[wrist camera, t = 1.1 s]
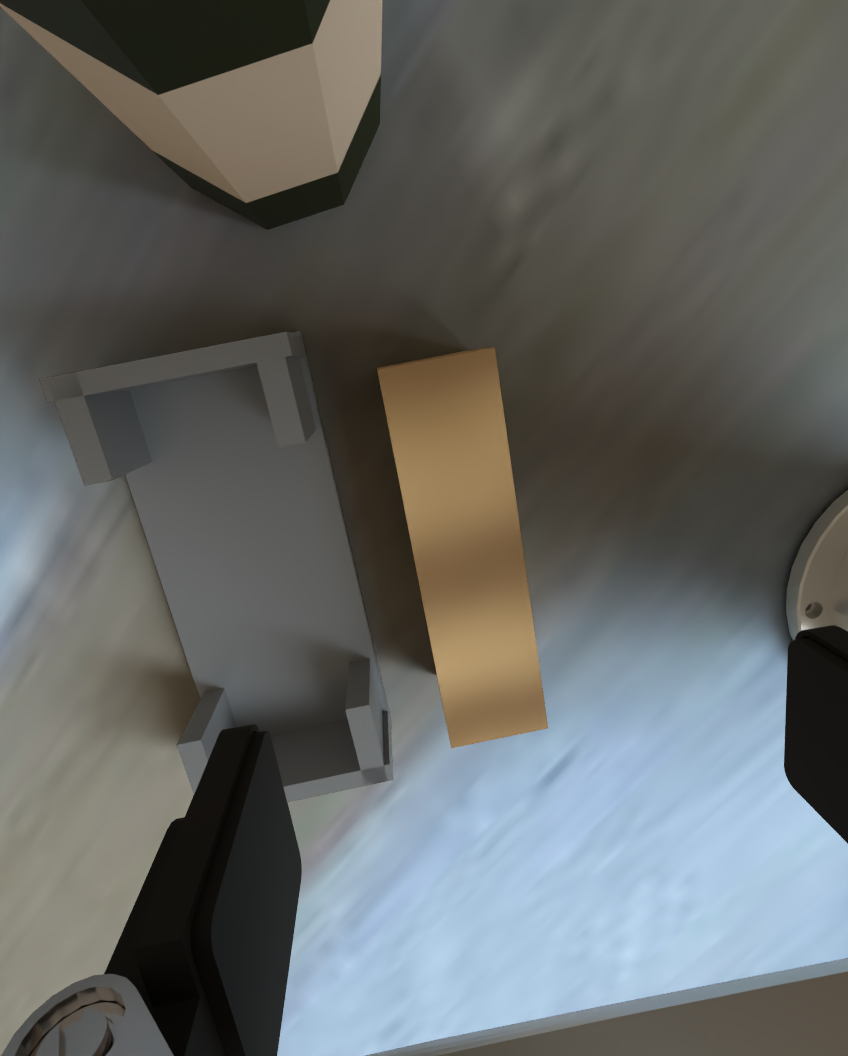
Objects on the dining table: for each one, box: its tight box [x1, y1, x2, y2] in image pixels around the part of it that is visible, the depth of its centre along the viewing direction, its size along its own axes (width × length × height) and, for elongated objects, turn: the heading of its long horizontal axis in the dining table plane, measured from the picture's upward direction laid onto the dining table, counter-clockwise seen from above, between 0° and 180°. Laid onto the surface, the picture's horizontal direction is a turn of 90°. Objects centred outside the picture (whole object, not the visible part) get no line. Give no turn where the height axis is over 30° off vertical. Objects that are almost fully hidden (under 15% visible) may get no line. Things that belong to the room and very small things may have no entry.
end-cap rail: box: [39, 331, 393, 802], centre depth 25 cm, size 19×8×5 cm, turn 11°
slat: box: [377, 347, 548, 748], centre depth 25 cm, size 15×4×6 cm, turn 10°
